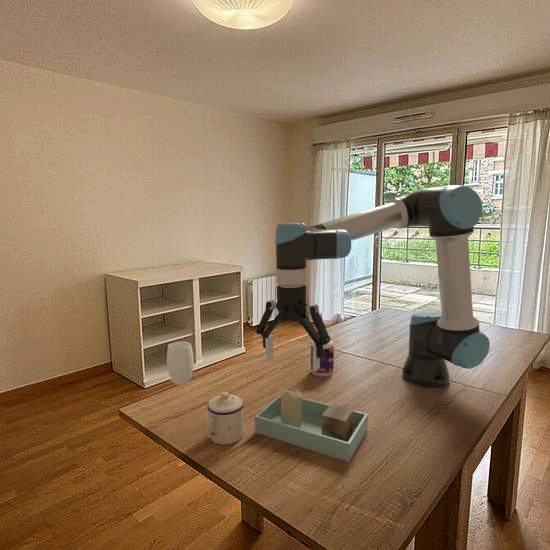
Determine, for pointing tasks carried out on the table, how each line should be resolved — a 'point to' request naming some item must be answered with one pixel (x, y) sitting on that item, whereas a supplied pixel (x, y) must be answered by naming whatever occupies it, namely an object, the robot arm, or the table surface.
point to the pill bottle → (324, 360)
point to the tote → (310, 429)
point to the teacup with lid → (225, 419)
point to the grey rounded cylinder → (180, 362)
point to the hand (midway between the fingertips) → (292, 364)
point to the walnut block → (337, 423)
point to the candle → (291, 407)
